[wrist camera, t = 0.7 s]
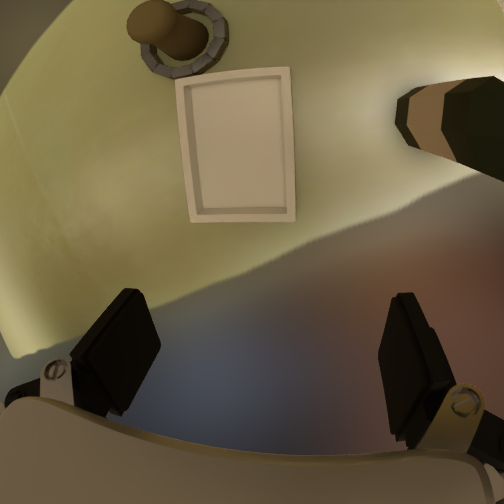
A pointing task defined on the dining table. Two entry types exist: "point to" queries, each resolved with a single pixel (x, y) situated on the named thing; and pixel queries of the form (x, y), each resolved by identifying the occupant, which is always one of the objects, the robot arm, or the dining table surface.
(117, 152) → the dining table surface
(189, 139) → the white rectangular tray
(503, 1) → the small red white box
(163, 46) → the cork
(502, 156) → the wine bottle
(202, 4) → the stone ring
